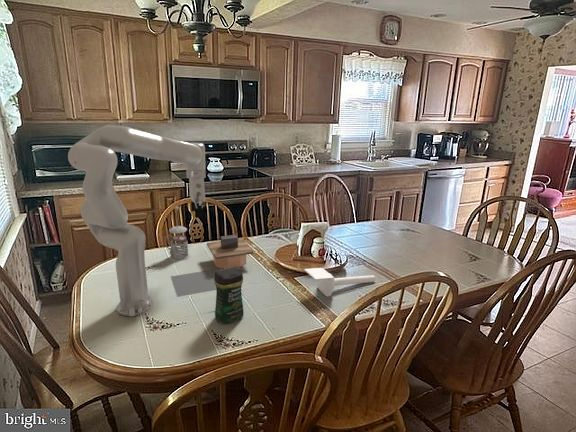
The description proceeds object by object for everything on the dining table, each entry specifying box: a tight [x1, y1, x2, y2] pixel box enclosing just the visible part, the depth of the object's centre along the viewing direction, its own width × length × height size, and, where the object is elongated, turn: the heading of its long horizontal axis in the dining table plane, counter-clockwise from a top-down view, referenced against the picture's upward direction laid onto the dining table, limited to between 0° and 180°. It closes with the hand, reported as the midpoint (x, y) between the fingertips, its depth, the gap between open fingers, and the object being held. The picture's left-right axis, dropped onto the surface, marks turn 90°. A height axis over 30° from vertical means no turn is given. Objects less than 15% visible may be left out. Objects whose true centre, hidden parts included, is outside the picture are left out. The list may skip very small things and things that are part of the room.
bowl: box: [212, 255, 247, 269], centre depth 176 cm, size 14×14×7 cm
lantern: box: [163, 206, 192, 262], centre depth 178 cm, size 10×12×25 cm
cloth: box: [206, 234, 254, 259], centre depth 174 cm, size 17×17×6 cm
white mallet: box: [303, 267, 376, 297], centre depth 156 cm, size 9×9×32 cm
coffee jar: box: [214, 266, 245, 325], centre depth 132 cm, size 10×8×19 cm
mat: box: [170, 269, 216, 298], centre depth 157 cm, size 18×18×1 cm
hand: (197, 214), depth 160 cm, fingers open, 9 cm apart
